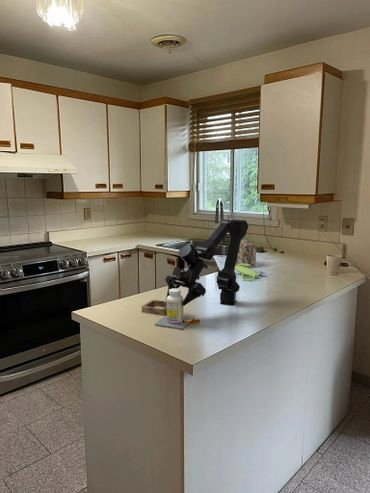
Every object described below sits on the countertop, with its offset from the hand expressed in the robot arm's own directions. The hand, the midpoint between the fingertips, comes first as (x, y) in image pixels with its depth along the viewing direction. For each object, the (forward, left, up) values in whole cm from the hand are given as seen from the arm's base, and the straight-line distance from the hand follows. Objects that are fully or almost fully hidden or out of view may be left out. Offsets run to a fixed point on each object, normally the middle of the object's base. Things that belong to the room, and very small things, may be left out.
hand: (174, 302), depth 149 cm
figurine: (-6, -87, -9) cm, 88 cm away
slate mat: (0, 0, -8) cm, 8 cm away
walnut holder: (+13, -11, -8) cm, 19 cm away
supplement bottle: (0, 0, -8) cm, 8 cm away
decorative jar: (-1, -109, -8) cm, 109 cm away
